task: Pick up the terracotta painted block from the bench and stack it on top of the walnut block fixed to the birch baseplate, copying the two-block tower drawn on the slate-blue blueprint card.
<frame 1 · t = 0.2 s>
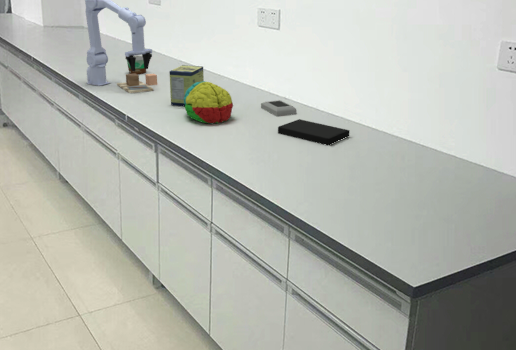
hand: (139, 69, 292), 10 cm above the counter, fingers open, 7 cm apart
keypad: (278, 112, 262), on the counter
baseplate: (134, 87, 300), on the counter
food container: (138, 74, 332), on the counter
brain model: (207, 118, 251), on the counter
terracotta block: (151, 84, 308), on the counter
black microchip: (313, 136, 229), on the counter
protein box: (187, 102, 274), on the counter
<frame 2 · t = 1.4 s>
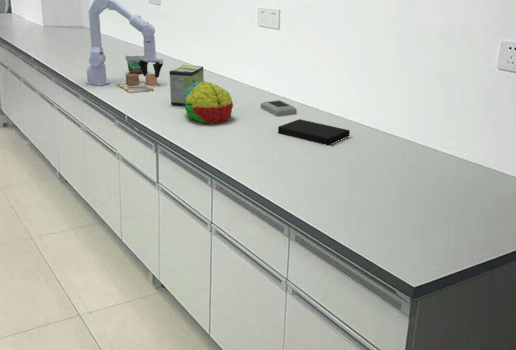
hand: (151, 76, 307), 4 cm above the counter, fingers open, 7 cm apart
nothing on the counter moved.
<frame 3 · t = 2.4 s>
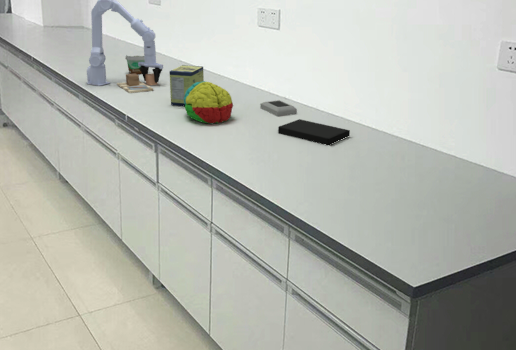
hand: (151, 81, 308), 1 cm above the counter, fingers closed on terracotta block, 6 cm apart
terracotta block: (151, 84, 308), on the counter, touching gripper
everything else where it was.
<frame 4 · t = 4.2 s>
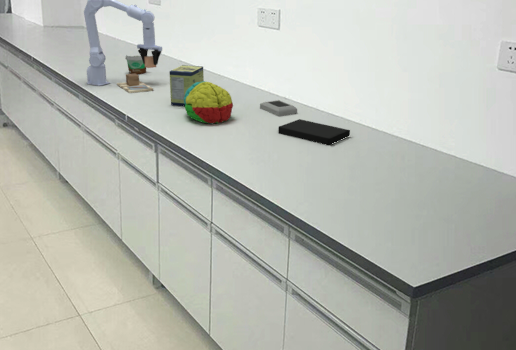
hand: (150, 64, 304), 10 cm above the counter, fingers closed on terracotta block, 6 cm apart
terracotta block: (150, 66, 305), point 9 cm above the counter, touching gripper
everything else where it was.
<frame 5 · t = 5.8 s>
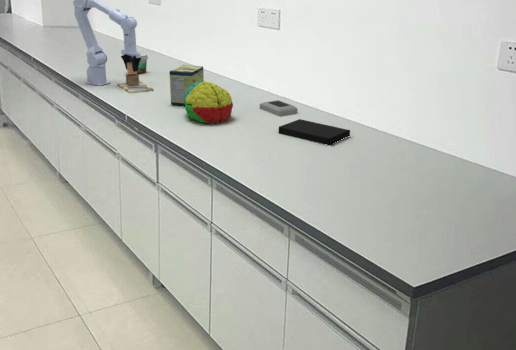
hand: (131, 70, 300), 8 cm above the counter, fingers closed on terracotta block, 6 cm apart
terracotta block: (132, 73, 300), point 7 cm above the counter, touching gripper
everything else where it was.
when the fingers open (8 cm above the counter, at t = 6.3 s): terracotta block stays where it is, point 6 cm above the counter.
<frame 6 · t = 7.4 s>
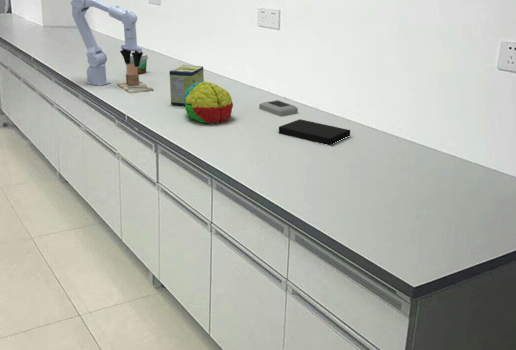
hand: (132, 65, 300), 10 cm above the counter, fingers open, 7 cm apart
terracotta block: (132, 74, 301), point 6 cm above the counter, touching gripper
everything else where it was.
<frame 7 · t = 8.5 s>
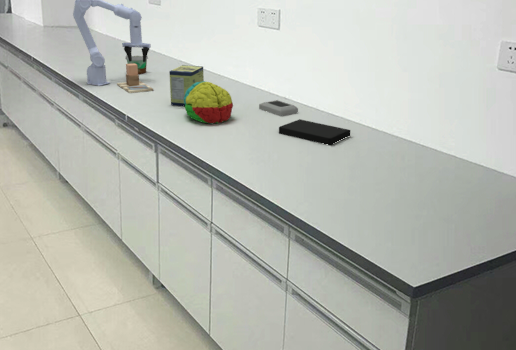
hand: (137, 61, 310), 10 cm above the counter, fingers open, 7 cm apart
terracotta block: (132, 74, 301), point 6 cm above the counter, touching baseplate
everything else where it was.
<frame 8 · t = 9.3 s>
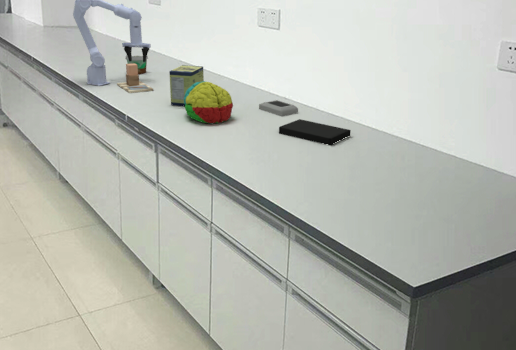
hand: (137, 61, 310), 10 cm above the counter, fingers open, 7 cm apart
at the end: terracotta block 1.1 cm from the target spot on the baseplate, point 6.0 cm above the baseplate's base; terracotta block tilted 0°; the gripper is holding nothing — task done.
